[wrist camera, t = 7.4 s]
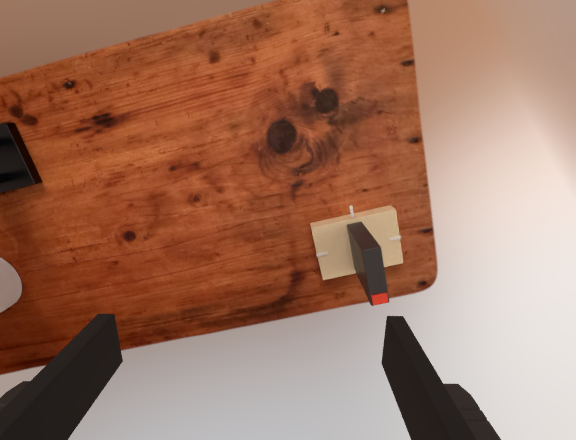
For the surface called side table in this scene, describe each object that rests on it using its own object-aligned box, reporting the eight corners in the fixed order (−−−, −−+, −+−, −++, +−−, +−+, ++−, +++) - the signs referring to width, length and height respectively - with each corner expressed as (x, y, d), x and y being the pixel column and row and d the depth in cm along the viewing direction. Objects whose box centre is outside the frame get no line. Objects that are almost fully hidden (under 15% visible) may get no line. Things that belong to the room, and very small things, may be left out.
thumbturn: (346, 224, 37) (362, 251, 29) (361, 221, 36) (382, 247, 29) (354, 270, 38) (372, 307, 30) (369, 267, 38) (390, 303, 30)
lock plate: (389, 192, 38) (395, 196, 35) (400, 267, 40) (406, 275, 38) (306, 211, 38) (307, 216, 36) (323, 283, 41) (324, 292, 39)
